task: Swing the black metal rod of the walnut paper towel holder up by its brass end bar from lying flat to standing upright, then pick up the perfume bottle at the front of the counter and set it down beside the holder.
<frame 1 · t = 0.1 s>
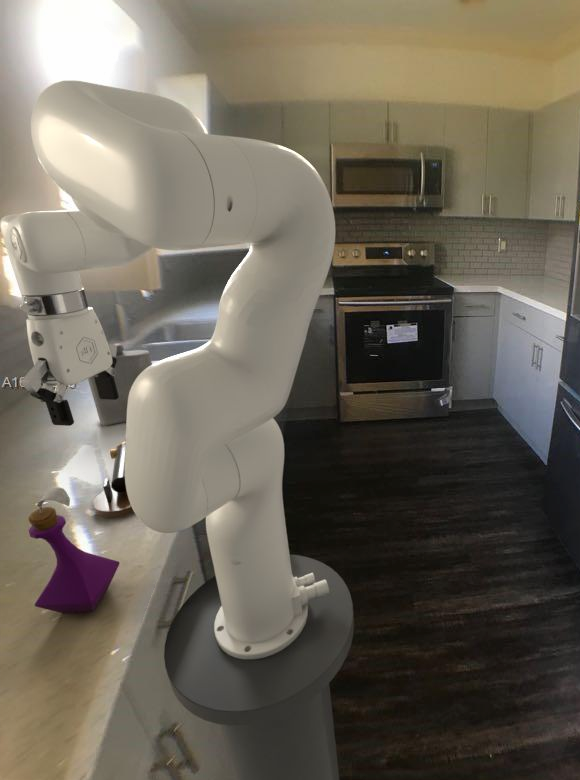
hand: (88, 410, 73), 22 cm above the worktop, tool pointing down, fingers open, 9 cm apart
holder base: (125, 501, 86), on the worktop
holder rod: (123, 465, 92), point 3 cm above the worktop, hinge at 0.0°
perfume bottle: (86, 601, 64), on the worktop
flask: (133, 418, 122), on the worktop
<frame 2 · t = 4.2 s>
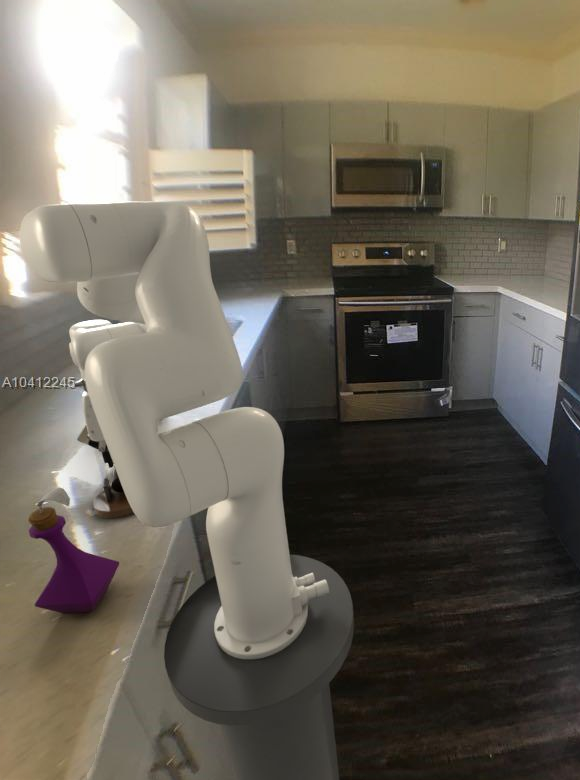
hand: (127, 460, 98), 1 cm above the worktop, tool pointing down, fingers closed on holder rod, 5 cm apart
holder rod: (123, 465, 92), point 3 cm above the worktop, hinge at 0.0°, touching gripper
everything else where it was.
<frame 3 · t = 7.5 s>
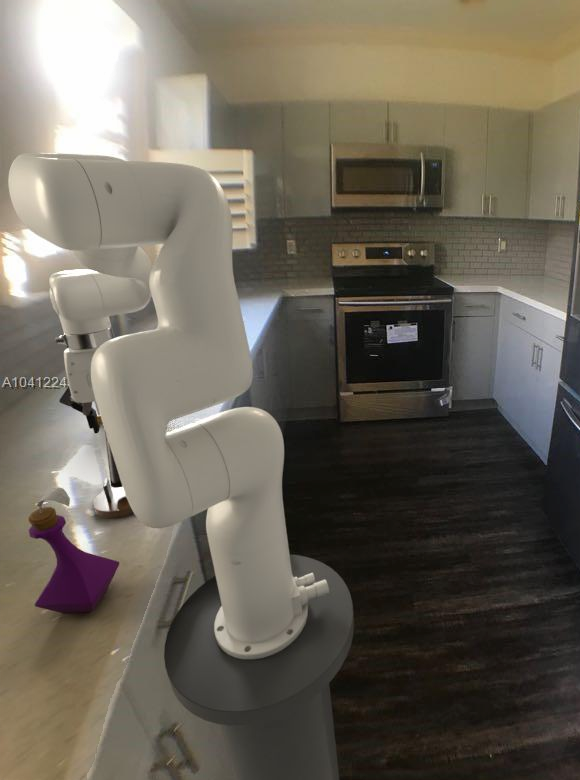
hand: (114, 426, 91), 11 cm above the worktop, tool pointing down, fingers closed on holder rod, 5 cm apart
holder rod: (116, 446, 88), point 9 cm above the worktop, hinge at 40.9°, touching gripper
everything else where it was.
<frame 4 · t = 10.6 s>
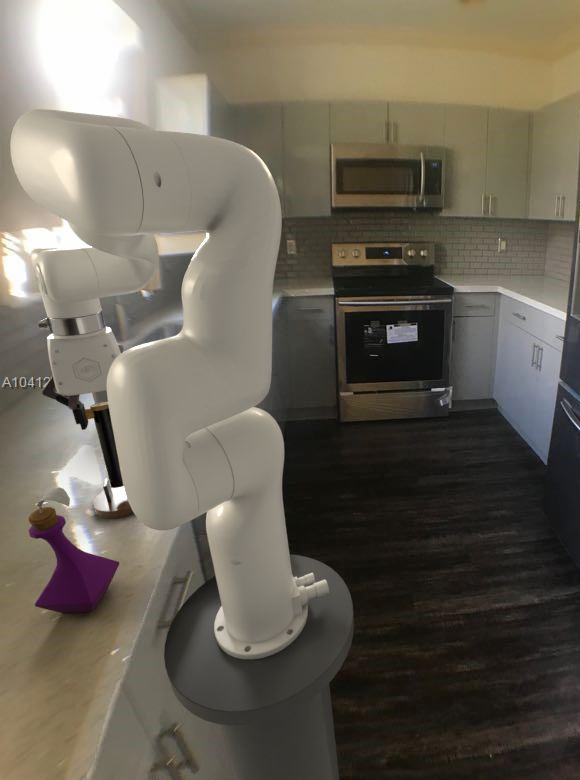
hand: (104, 422, 82), 16 cm above the worktop, tool pointing down, fingers closed on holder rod, 5 cm apart
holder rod: (111, 445, 83), point 11 cm above the worktop, hinge at 79.8°, touching gripper
everything else where it was.
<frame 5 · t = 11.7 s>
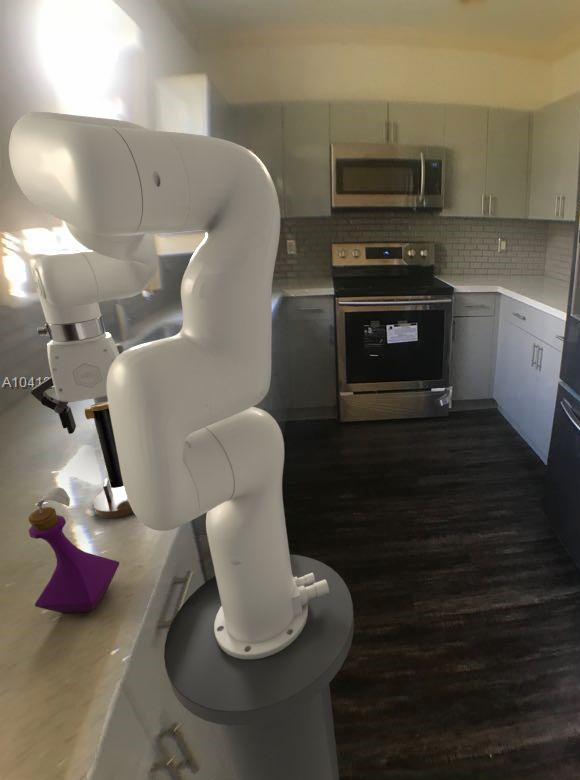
hand: (104, 424, 81), 16 cm above the worktop, tool pointing down, fingers open, 9 cm apart
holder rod: (111, 444, 83), point 11 cm above the worktop, hinge at 79.5°
everything else where it was.
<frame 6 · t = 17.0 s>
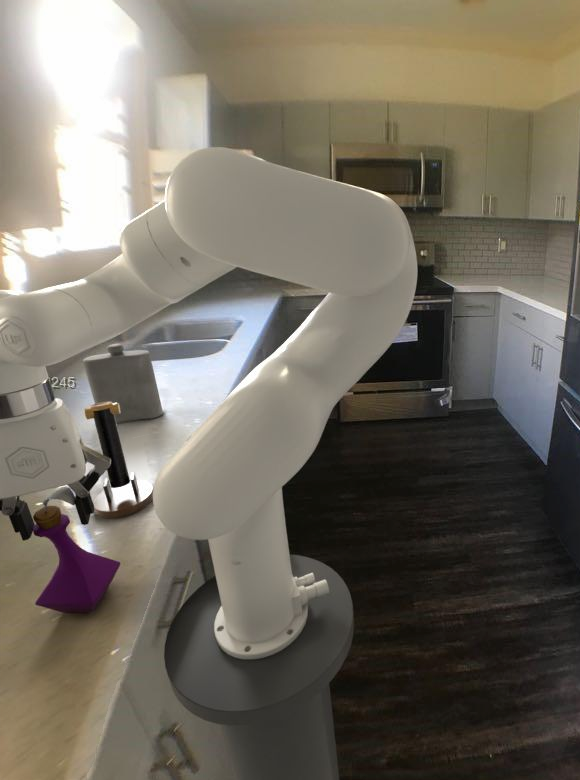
hand: (58, 524, 60), 13 cm above the worktop, tool pointing down, fingers closed on perfume bottle, 5 cm apart
perfume bottle: (85, 601, 64), on the worktop, touching gripper
everything else where it was.
when the fingers open (13 cm above the worktop, at t = 23.9 s): perfume bottle stays where it is, on the worktop.
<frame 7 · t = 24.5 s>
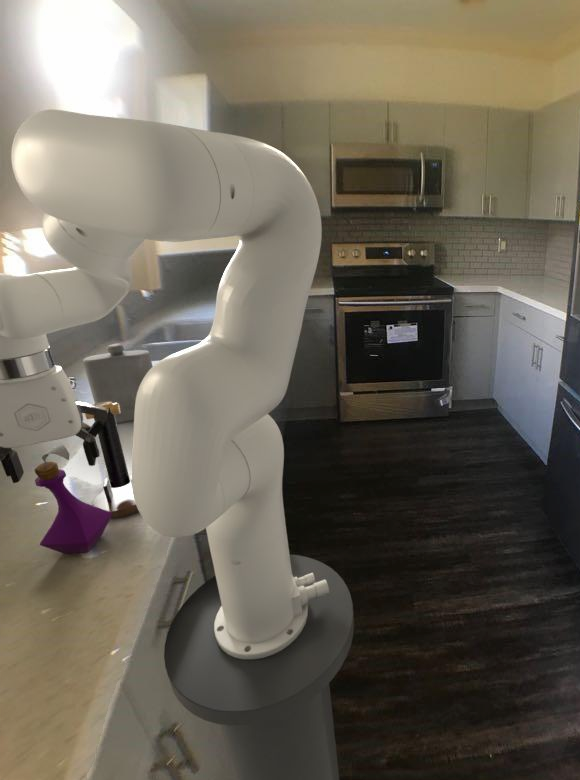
hand: (57, 469, 70), 14 cm above the worktop, tool pointing down, fingers open, 9 cm apart
perfume bottle: (83, 545, 76), on the worktop
everything else where it was.
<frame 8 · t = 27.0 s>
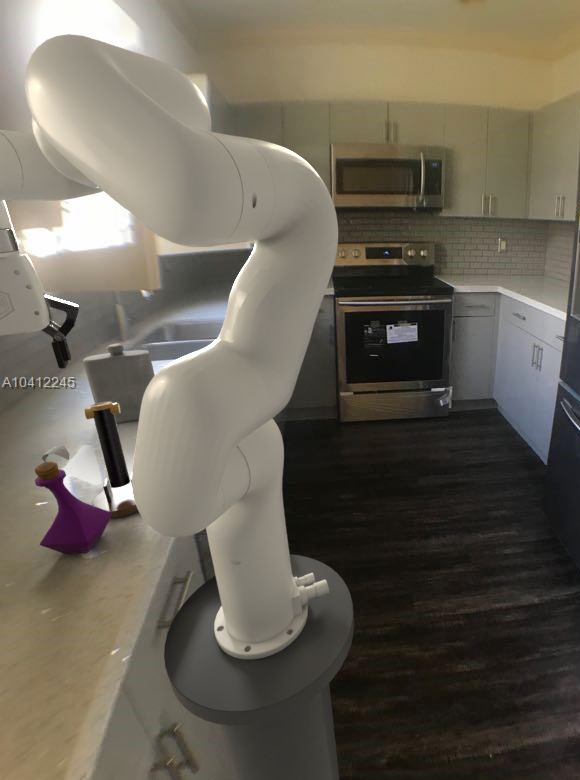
hand: (23, 371, 64), 30 cm above the worktop, tool pointing down, fingers open, 9 cm apart
nothing on the worktop moved.
at the end: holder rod at +80° (first picture: +0°); perfume bottle tilted 0°; perfume bottle 11.6 cm from the holder base (horizontally) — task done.
